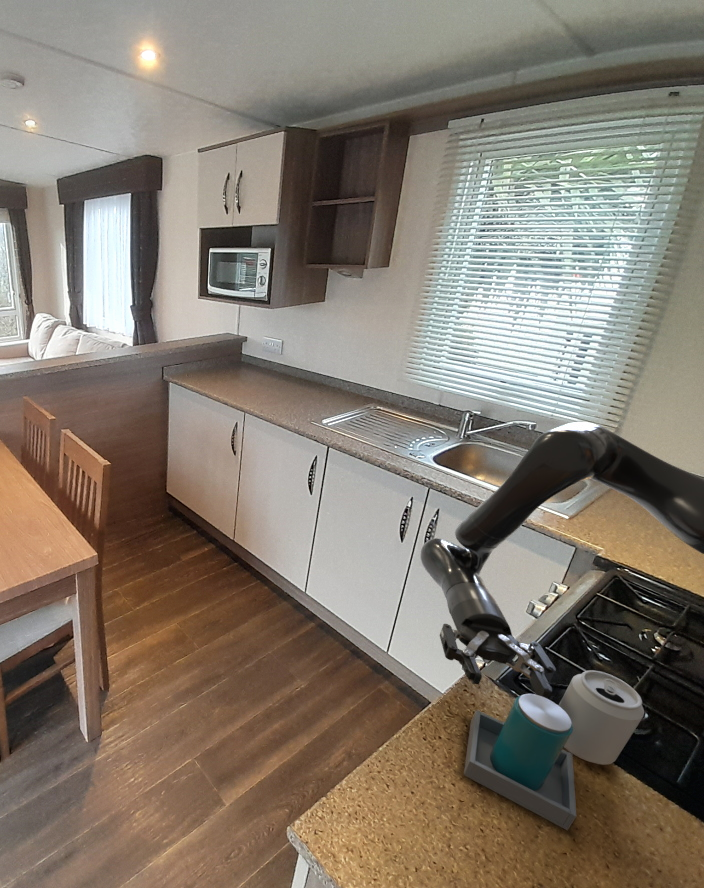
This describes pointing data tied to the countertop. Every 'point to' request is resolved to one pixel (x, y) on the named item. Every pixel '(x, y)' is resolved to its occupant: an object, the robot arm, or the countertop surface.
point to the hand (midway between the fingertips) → (510, 688)
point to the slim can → (531, 740)
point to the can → (600, 715)
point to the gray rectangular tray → (546, 802)
